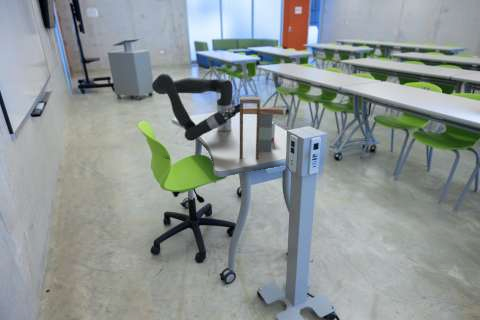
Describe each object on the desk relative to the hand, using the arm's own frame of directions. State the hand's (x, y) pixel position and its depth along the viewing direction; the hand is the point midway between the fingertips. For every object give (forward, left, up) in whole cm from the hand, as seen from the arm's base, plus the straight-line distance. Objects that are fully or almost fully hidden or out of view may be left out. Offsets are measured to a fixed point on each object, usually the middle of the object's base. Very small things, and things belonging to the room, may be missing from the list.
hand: (242, 106), depth 168 cm
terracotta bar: (0, +11, -4) cm, 12 cm away
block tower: (0, +13, -25) cm, 28 cm away
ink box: (-14, +15, -25) cm, 32 cm away
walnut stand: (+11, +5, -25) cm, 28 cm away
